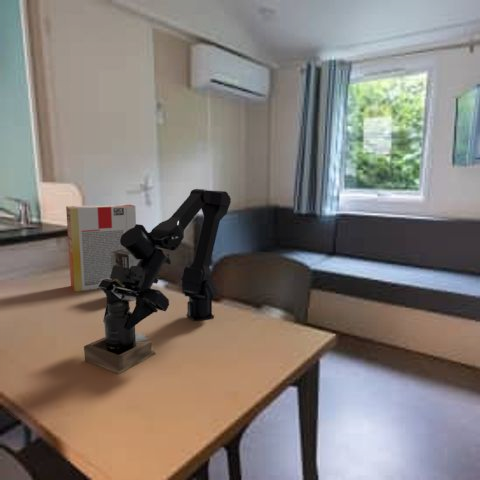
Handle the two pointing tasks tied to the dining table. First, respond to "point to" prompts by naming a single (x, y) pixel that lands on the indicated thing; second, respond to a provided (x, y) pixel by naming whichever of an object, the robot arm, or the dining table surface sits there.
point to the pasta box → (95, 241)
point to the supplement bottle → (118, 328)
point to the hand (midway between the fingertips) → (115, 326)
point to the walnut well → (116, 356)
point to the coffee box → (123, 263)
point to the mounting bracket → (140, 337)
